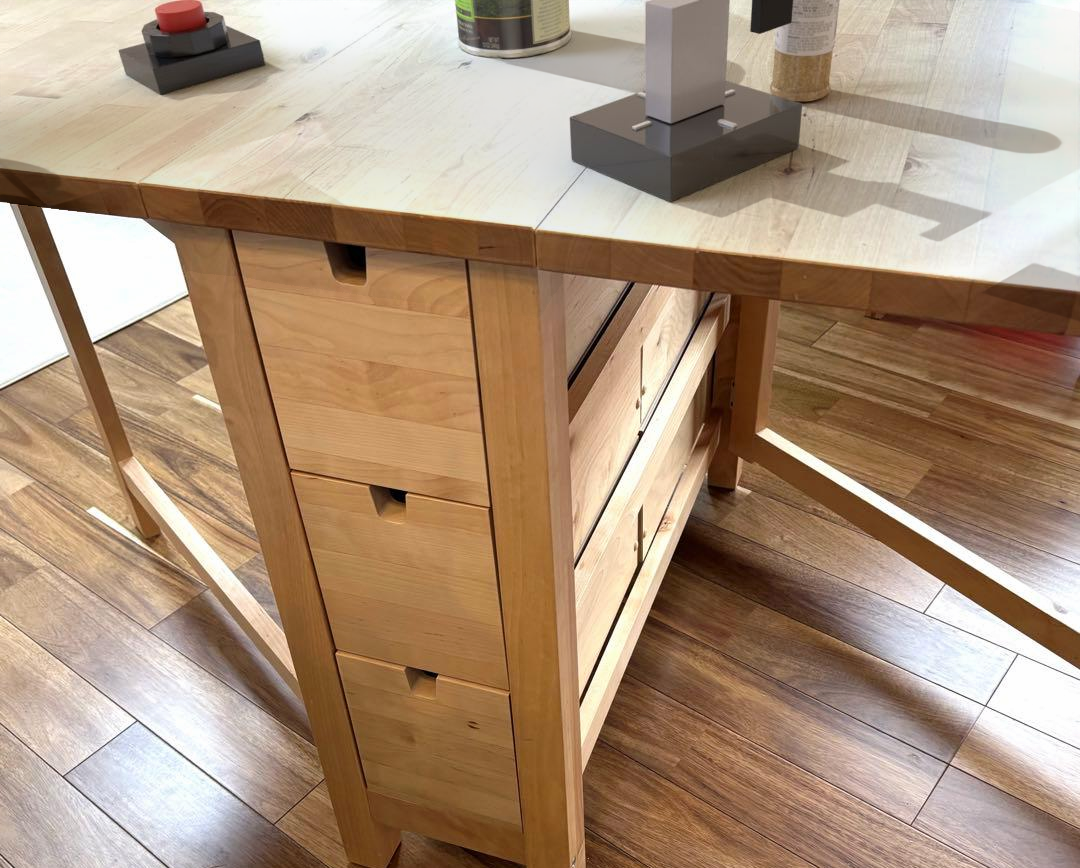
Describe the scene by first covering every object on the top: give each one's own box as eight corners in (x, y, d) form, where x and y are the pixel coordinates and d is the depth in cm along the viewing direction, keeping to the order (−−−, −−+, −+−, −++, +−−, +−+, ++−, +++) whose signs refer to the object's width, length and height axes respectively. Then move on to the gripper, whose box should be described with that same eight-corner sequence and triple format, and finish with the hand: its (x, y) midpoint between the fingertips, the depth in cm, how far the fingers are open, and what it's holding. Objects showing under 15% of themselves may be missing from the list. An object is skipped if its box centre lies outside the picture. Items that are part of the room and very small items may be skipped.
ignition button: (171, 37, 89) (165, 15, 88) (153, 29, 92) (147, 7, 91) (214, 26, 91) (209, 4, 90) (195, 18, 94) (190, -4, 92)
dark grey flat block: (670, 202, 67) (671, 153, 65) (571, 160, 73) (568, 114, 71) (798, 148, 72) (803, 101, 70) (695, 113, 78) (697, 68, 76)
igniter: (160, 96, 89) (146, 46, 87) (126, 75, 94) (111, 28, 92) (266, 66, 94) (254, 17, 91) (227, 48, 98) (215, 1, 96)
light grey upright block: (670, 124, 68) (672, 4, 64) (644, 115, 70) (644, -3, 65) (725, 103, 71) (730, -14, 66) (698, 95, 72) (702, -21, 67)
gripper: (962, -488, 46) (890, 29, 60) (594, -437, 61) (606, -35, 75) (849, -482, 43) (801, 63, 57) (491, -429, 58) (523, -11, 72)
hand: (690, 8), depth 66 cm, fingers open, 13 cm apart
